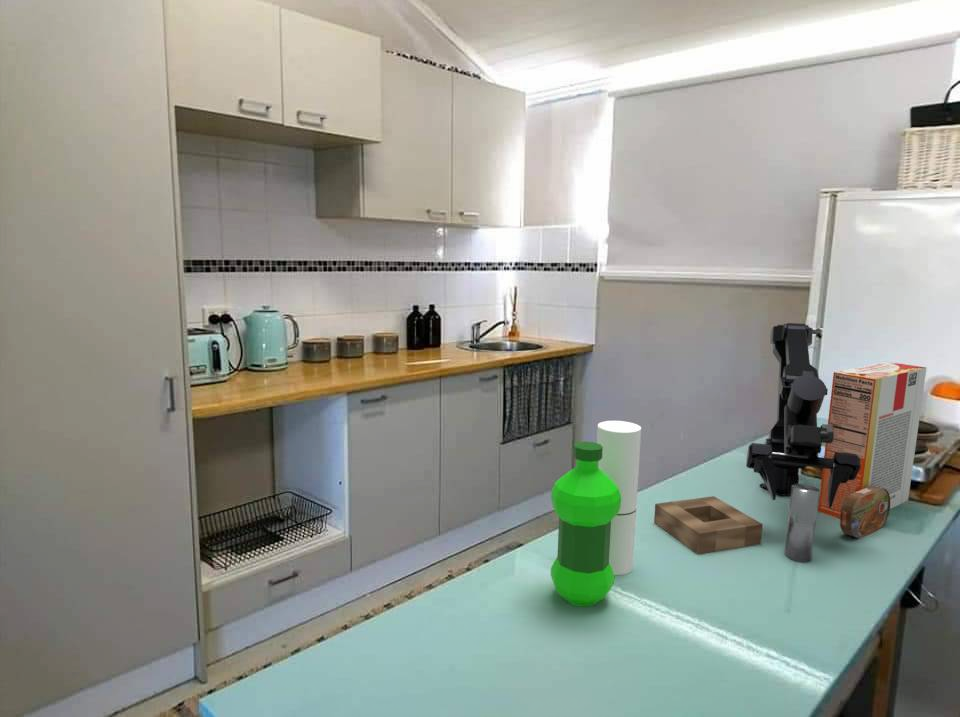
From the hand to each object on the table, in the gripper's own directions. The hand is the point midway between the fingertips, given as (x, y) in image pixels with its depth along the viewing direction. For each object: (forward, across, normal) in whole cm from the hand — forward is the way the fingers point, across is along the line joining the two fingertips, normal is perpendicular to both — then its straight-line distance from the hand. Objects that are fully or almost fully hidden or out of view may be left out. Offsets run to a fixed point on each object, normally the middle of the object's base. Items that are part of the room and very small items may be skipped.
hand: (801, 503), depth 119 cm
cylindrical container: (+19, -31, -6) cm, 37 cm away
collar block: (+5, -16, +8) cm, 19 cm away
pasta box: (-14, +16, +27) cm, 35 cm away
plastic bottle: (+28, -34, -14) cm, 46 cm away
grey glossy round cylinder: (+8, 0, +5) cm, 10 cm away
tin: (-4, +13, +17) cm, 22 cm away
